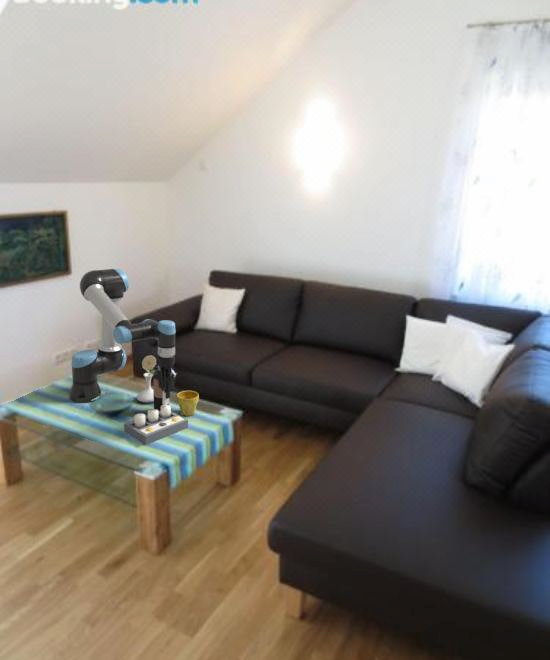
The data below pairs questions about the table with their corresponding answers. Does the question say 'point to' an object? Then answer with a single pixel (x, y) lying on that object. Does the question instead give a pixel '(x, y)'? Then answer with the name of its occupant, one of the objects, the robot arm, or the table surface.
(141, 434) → the tray
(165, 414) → the button
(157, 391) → the travel mug
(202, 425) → the table surface
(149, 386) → the flower in vase
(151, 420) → the button
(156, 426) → the strip
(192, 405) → the plant pot
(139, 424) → the button
